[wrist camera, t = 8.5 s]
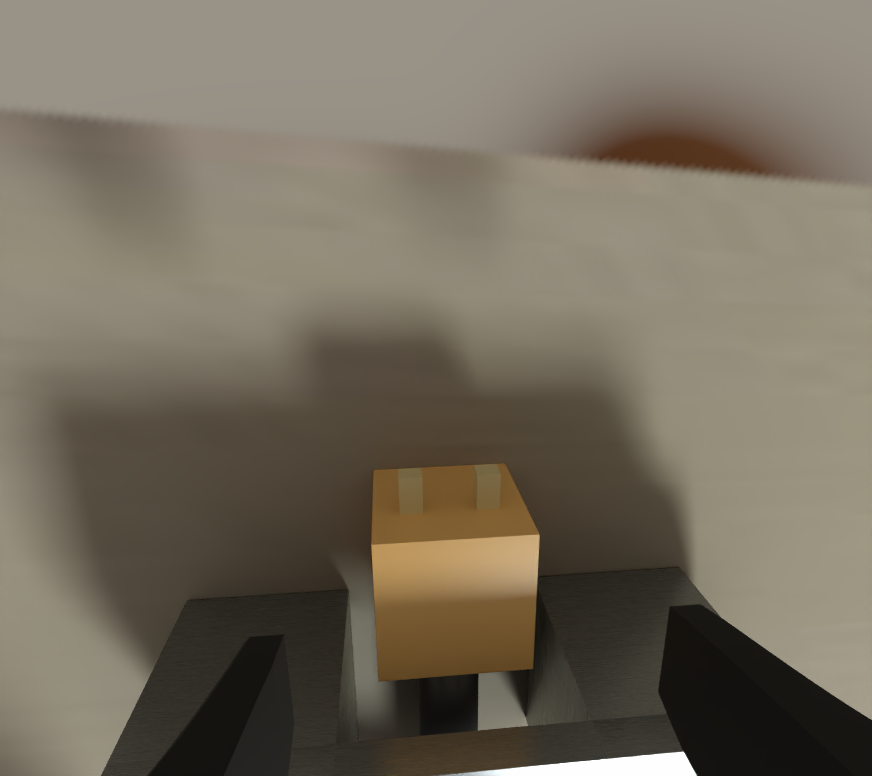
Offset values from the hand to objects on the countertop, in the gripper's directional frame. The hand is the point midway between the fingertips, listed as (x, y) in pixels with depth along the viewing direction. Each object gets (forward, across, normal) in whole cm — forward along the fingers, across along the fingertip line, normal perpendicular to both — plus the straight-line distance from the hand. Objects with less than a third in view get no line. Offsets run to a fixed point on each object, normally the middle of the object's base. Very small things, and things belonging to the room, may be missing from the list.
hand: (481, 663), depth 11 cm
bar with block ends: (+7, 0, +8) cm, 10 cm away
